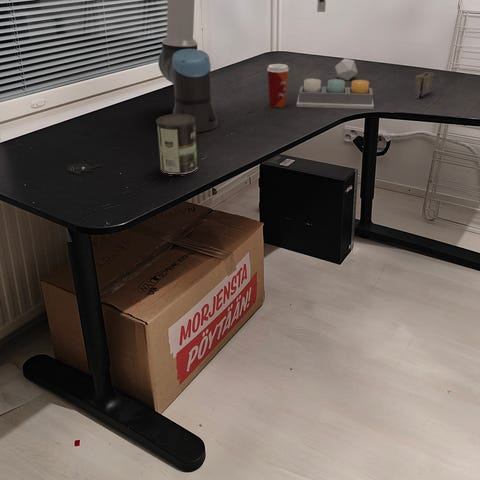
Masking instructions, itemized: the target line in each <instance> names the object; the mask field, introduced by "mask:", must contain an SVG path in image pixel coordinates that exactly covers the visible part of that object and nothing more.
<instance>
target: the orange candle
mask: <svg viewBox="0 0 480 480" xmlns="http://www.w3.org/2000/svg"><path fill="white" fill-rule="evenodd" d="M369 85H370V81H368V80H366V79H353V80H351V93H356V94H368V88H370V87H369Z"/></svg>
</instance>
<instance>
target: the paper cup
mask: <svg viewBox="0 0 480 480" xmlns="http://www.w3.org/2000/svg"><path fill="white" fill-rule="evenodd" d="M266 70H267V79H268V81H267V82H268V102H269V107H271V108H276V107H279V108H284V107H286V97H287V90H288V89H287V88H288V77H289V76H288V75H289V74H288V73H289V70H290V69H289V66H288V65H287V64H284V63H273V64H269V65H268V66H267V68H266Z"/></svg>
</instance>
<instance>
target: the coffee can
mask: <svg viewBox="0 0 480 480" xmlns="http://www.w3.org/2000/svg"><path fill="white" fill-rule="evenodd" d="M155 122H156V124H157V136H158V137H157V138H158V149H159V159H160V161H159V162H160V171H161V170H162V171H163V172H164V173H168V174H187V173H191V172H193V171H195V170H196V169H197V170H198V168H199V167H197V166H198V159H197V158H198V157H197V139H196V138H197V136H196V135H197V133H195V117H193V116H191V115H187V114H173V113H171V114H166V115H162V116H160V117H158V118H157V119H156V121H155ZM197 170H196V171H197ZM162 171H161V172H162ZM196 171H195V172H196ZM163 172H162V173H163ZM164 173H163V174H164ZM193 173H194V172H193ZM191 174H192V173H191Z"/></svg>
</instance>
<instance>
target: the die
mask: <svg viewBox="0 0 480 480" xmlns="http://www.w3.org/2000/svg"><path fill="white" fill-rule="evenodd" d="M334 68H335V72H336V74H337V75H336V76H337V79H340V80H344V81H347V82H348V81H350V80H351V79H352V78H353V77H354V76H355V75H357V74H358V69H357V65H356V63H355V60H354V59H349V58H343V59H342V60H341V61H340V62H338V63H337V64H336V65H335V66H334Z"/></svg>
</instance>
